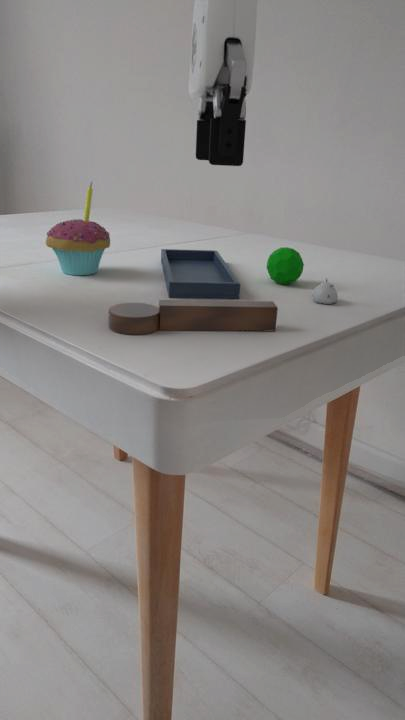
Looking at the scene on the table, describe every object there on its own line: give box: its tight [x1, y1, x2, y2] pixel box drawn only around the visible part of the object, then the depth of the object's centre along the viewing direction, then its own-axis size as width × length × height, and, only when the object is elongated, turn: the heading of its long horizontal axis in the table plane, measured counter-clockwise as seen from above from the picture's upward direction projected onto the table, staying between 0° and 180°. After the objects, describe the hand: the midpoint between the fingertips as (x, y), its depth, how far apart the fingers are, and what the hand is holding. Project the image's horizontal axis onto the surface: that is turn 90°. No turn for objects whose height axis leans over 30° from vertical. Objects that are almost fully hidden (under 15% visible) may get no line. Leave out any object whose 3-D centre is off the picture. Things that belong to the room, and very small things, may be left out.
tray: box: [160, 248, 241, 300], centre depth 78 cm, size 9×21×2 cm, turn 6°
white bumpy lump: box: [311, 278, 339, 305], centre depth 70 cm, size 3×4×3 cm
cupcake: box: [45, 181, 111, 276], centre depth 76 cm, size 9×8×12 cm
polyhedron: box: [266, 246, 305, 285], centre depth 77 cm, size 5×5×5 cm
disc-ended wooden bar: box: [108, 299, 279, 336], centre depth 58 cm, size 17×5×3 cm, turn 96°
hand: (217, 162), depth 57 cm, fingers open, 9 cm apart
